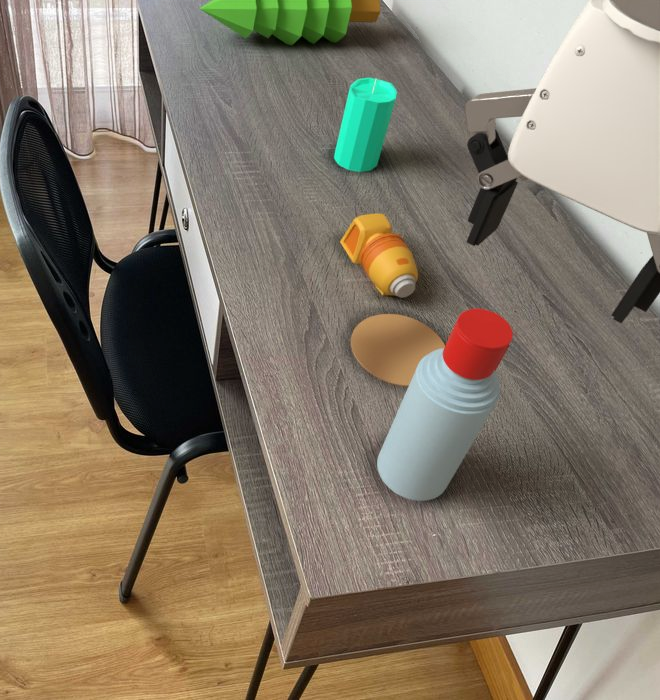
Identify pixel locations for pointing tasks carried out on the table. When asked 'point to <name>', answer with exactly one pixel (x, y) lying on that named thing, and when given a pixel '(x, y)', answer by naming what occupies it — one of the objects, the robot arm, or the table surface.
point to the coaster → (393, 346)
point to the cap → (477, 344)
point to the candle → (365, 124)
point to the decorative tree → (293, 17)
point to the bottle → (434, 428)
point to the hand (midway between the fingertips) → (549, 271)
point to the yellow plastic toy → (381, 254)
